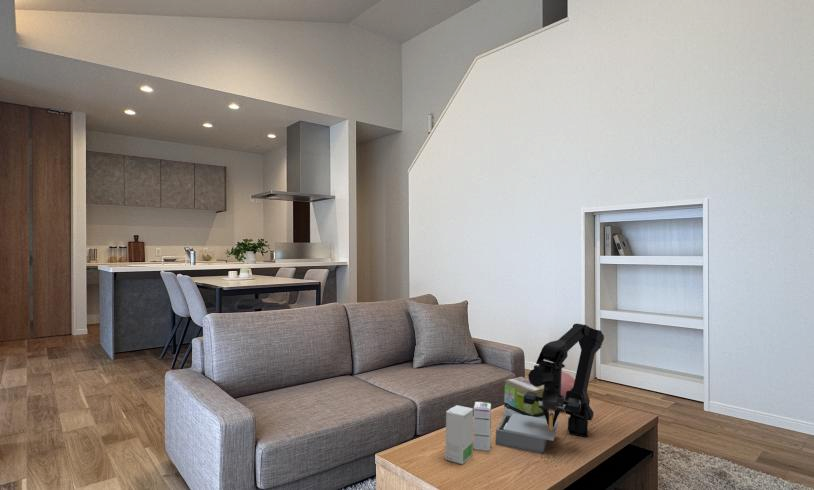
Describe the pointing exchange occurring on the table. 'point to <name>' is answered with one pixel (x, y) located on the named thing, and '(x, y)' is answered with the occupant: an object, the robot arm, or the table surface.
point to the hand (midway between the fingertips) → (551, 425)
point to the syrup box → (482, 426)
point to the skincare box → (459, 434)
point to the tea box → (521, 398)
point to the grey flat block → (518, 439)
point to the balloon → (566, 383)
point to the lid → (532, 426)
